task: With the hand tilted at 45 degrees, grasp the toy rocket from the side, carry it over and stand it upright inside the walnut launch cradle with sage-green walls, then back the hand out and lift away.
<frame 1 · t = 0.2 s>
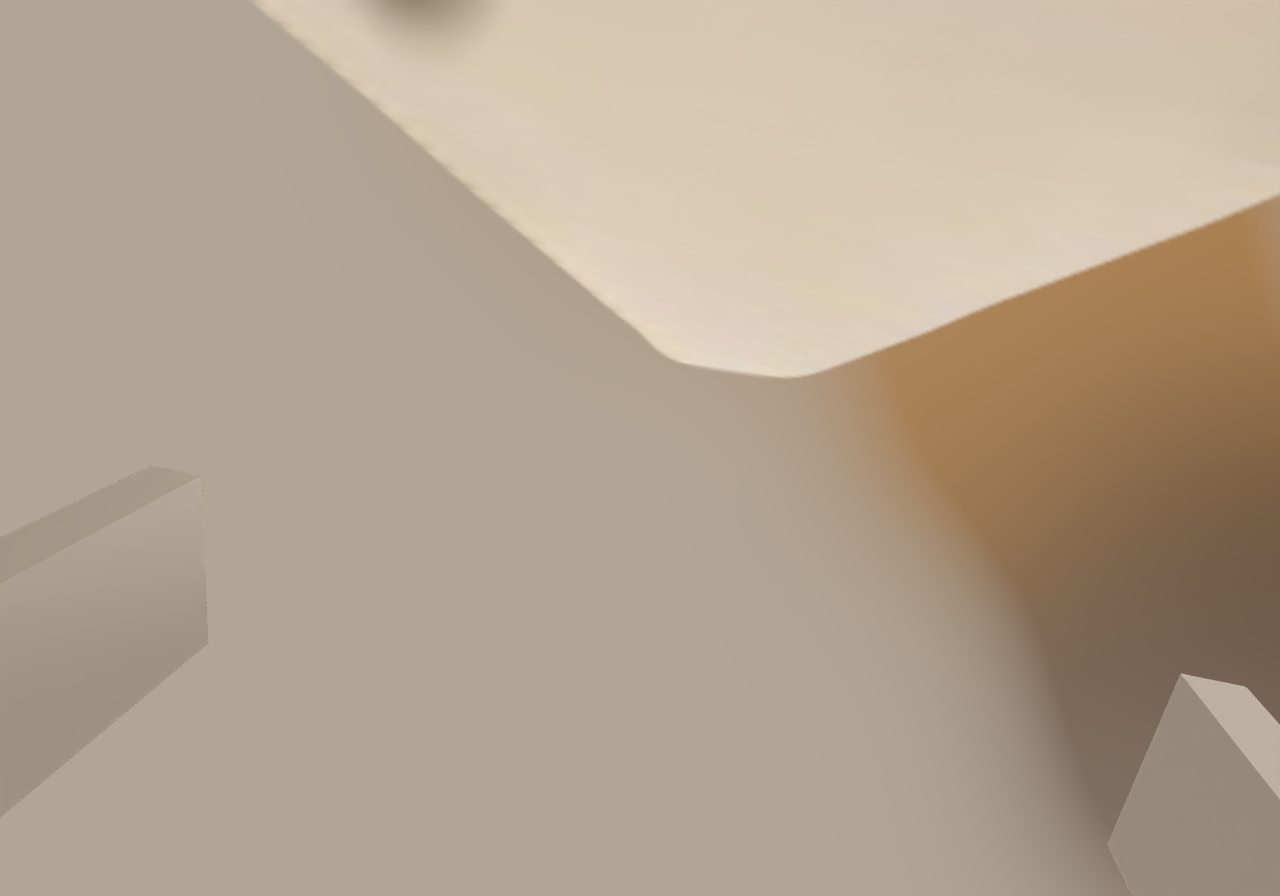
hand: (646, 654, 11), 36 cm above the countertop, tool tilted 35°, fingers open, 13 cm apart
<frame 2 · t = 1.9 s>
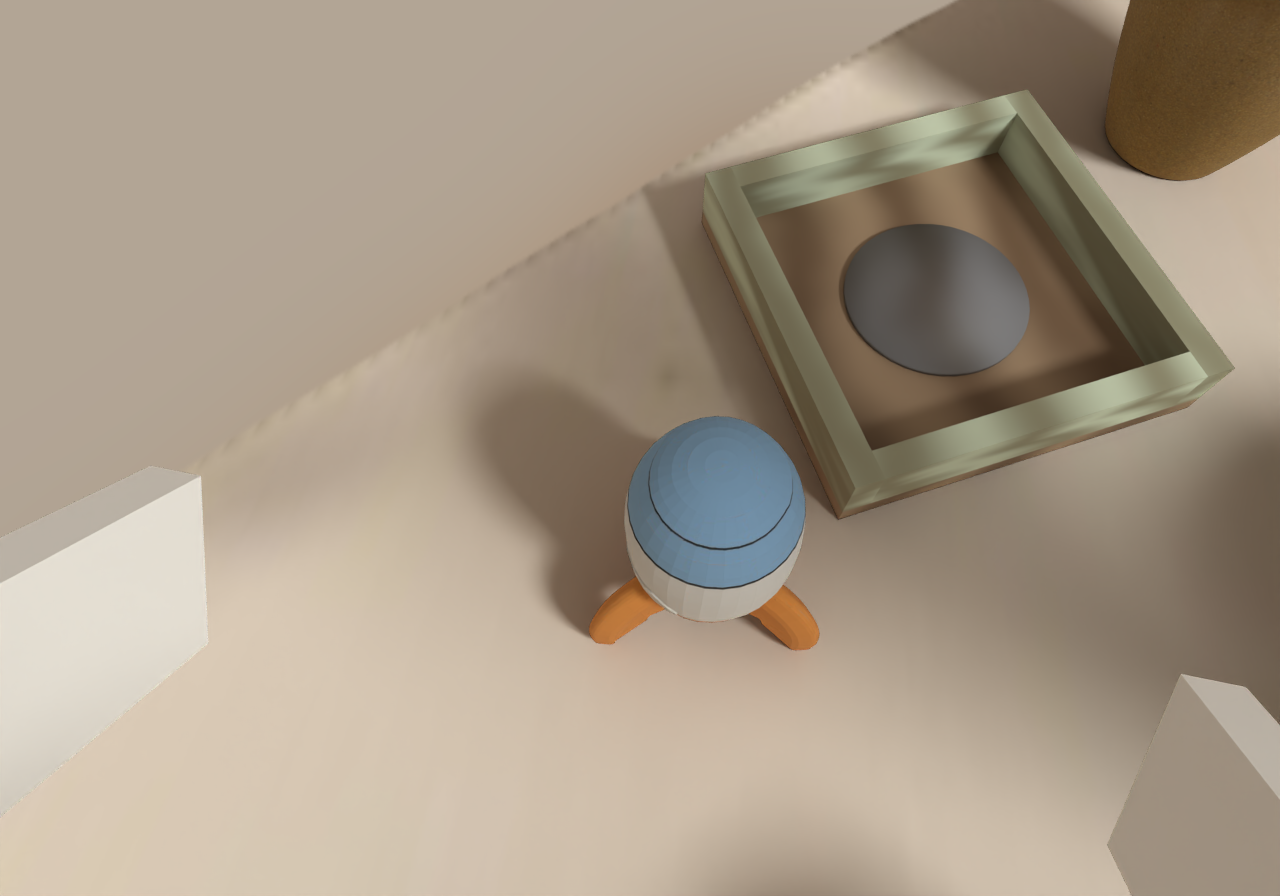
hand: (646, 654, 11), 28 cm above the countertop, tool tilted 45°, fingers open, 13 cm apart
launch cradle: (929, 308, 47), on the countertop
toy rocket: (705, 563, 41), on the countertop
plant pot: (1166, 139, 52), on the countertop
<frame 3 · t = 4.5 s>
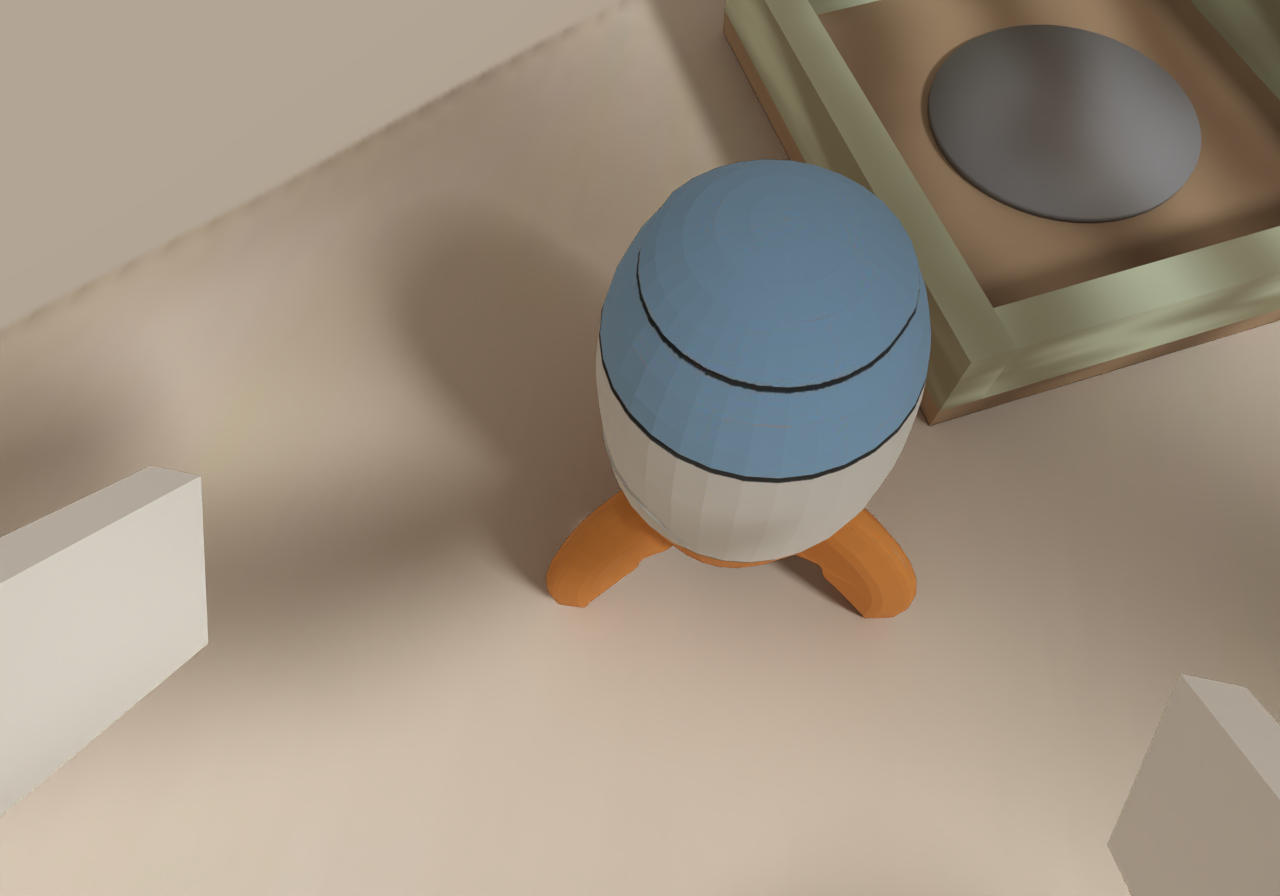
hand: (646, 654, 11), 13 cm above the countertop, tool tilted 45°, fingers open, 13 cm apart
launch cradle: (1048, 140, 33), on the countertop
toy rocket: (730, 489, 27), on the countertop
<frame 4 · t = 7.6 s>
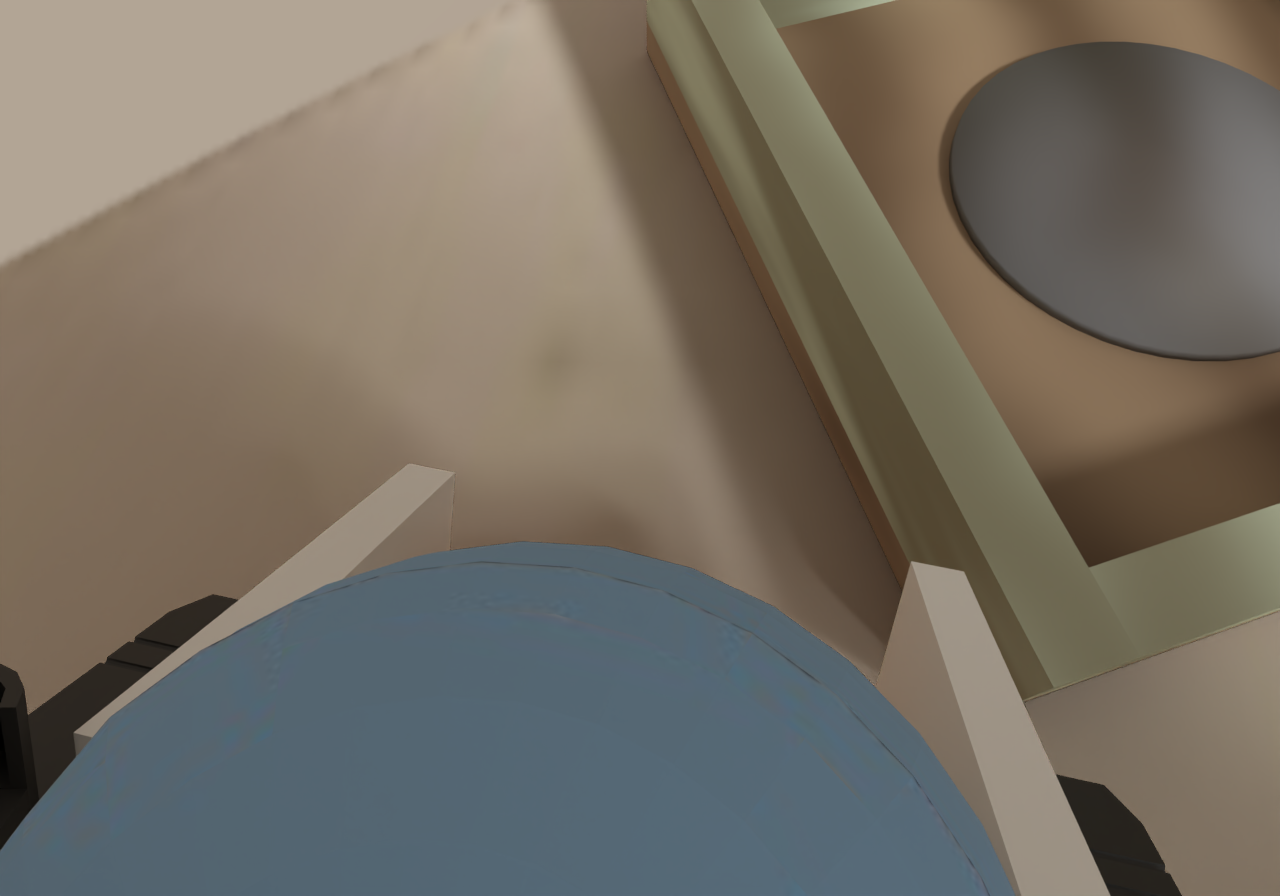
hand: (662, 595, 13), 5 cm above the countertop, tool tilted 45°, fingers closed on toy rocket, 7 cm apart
launch cradle: (1131, 217, 22), on the countertop
toy rocket: (623, 844, 16), on the countertop, touching gripper
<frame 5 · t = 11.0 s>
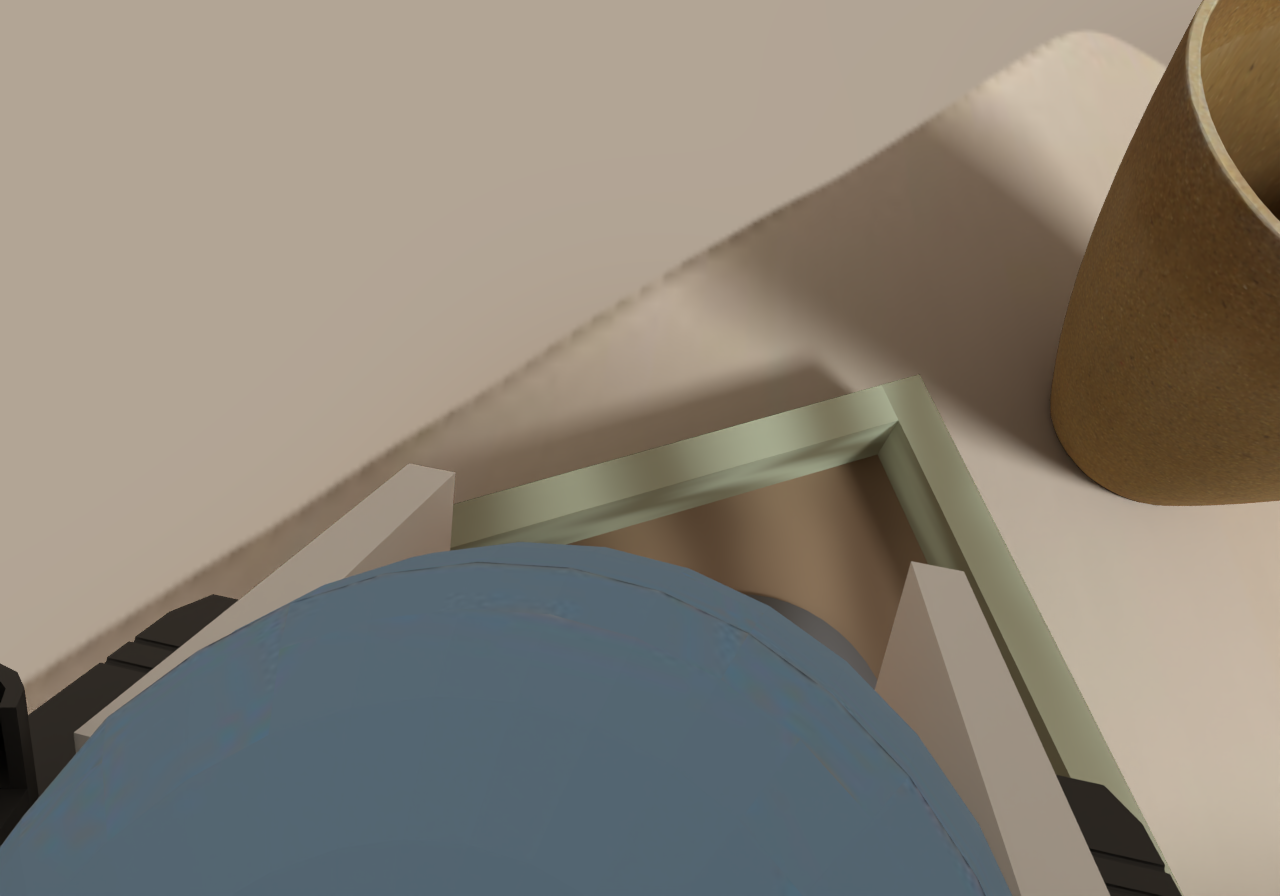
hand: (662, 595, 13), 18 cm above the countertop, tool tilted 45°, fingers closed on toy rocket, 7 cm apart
launch cradle: (742, 744, 29), on the countertop
toy rocket: (621, 844, 16), point 13 cm above the countertop, touching gripper
plant pot: (1143, 423, 34), on the countertop
when the fingers open (7 cm above the countertop, at t = 14.4 s): toy rocket drops 1 cm, resting on launch cradle.
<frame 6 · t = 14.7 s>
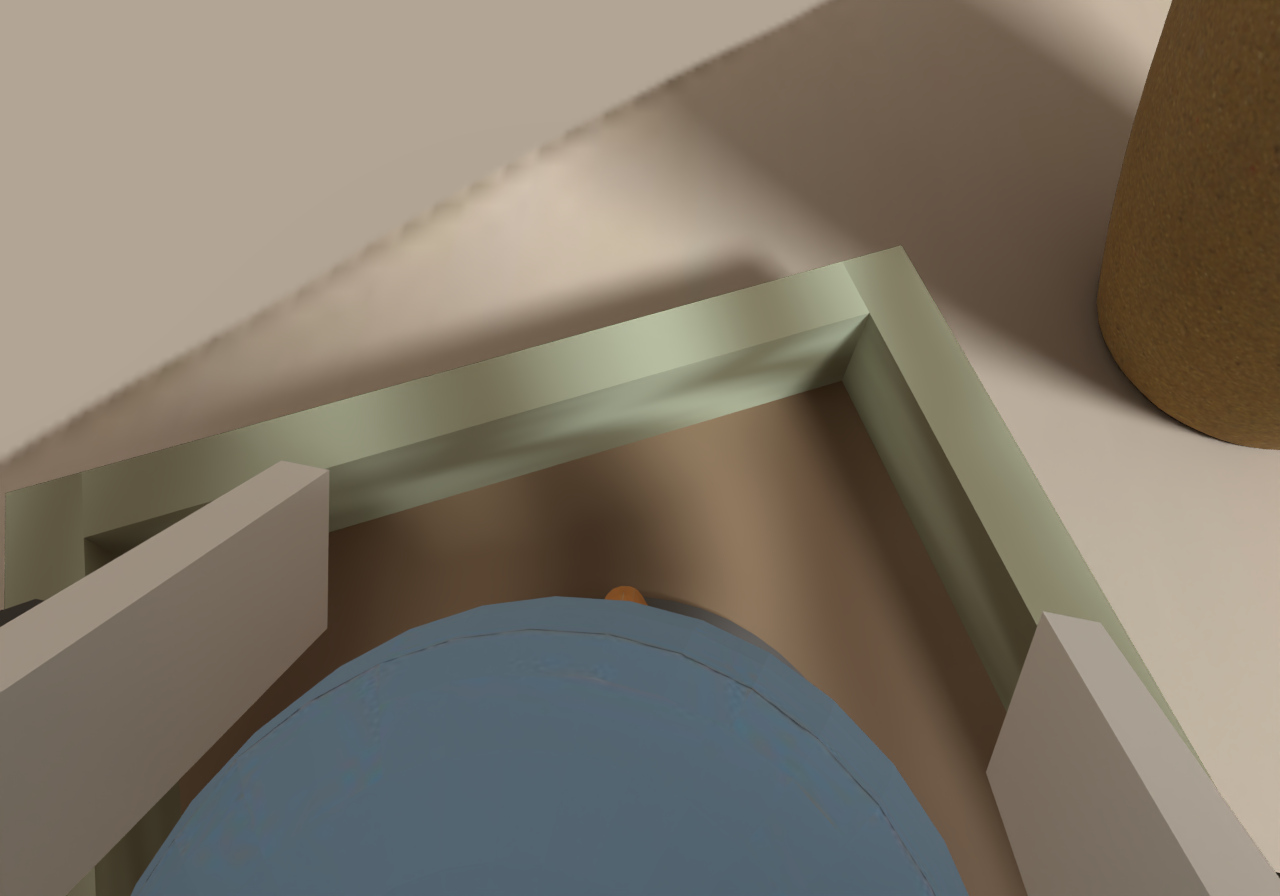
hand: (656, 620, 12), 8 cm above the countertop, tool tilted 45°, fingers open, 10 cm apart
launch cradle: (626, 843, 18), on the countertop
toy rocket: (631, 848, 17), point 1 cm above the countertop, touching launch cradle
plant pot: (1235, 334, 23), on the countertop
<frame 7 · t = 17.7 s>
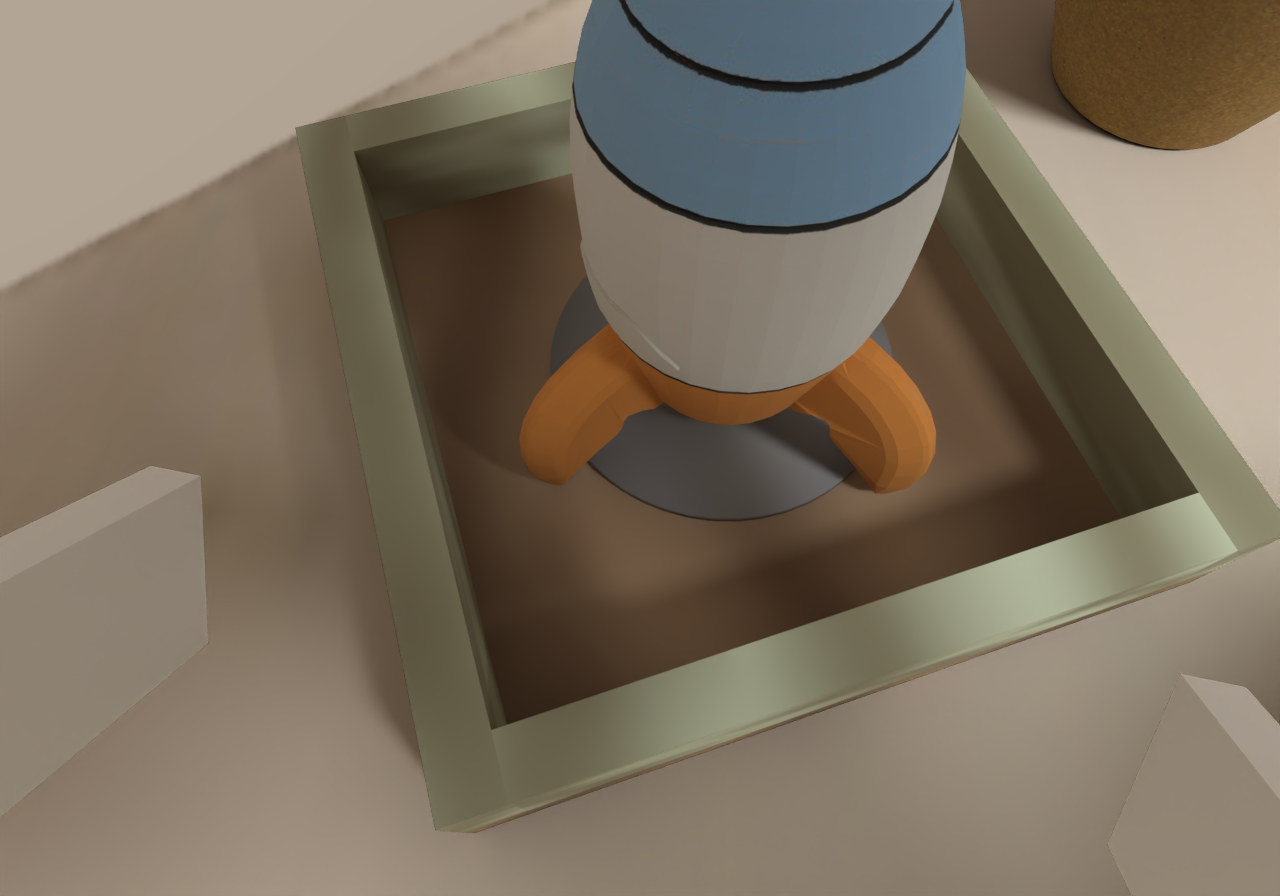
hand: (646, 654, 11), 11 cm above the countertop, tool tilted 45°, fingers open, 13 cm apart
launch cradle: (717, 379, 25), on the countertop
toy rocket: (725, 363, 24), point 1 cm above the countertop, touching launch cradle
plant pot: (1154, 82, 31), on the countertop
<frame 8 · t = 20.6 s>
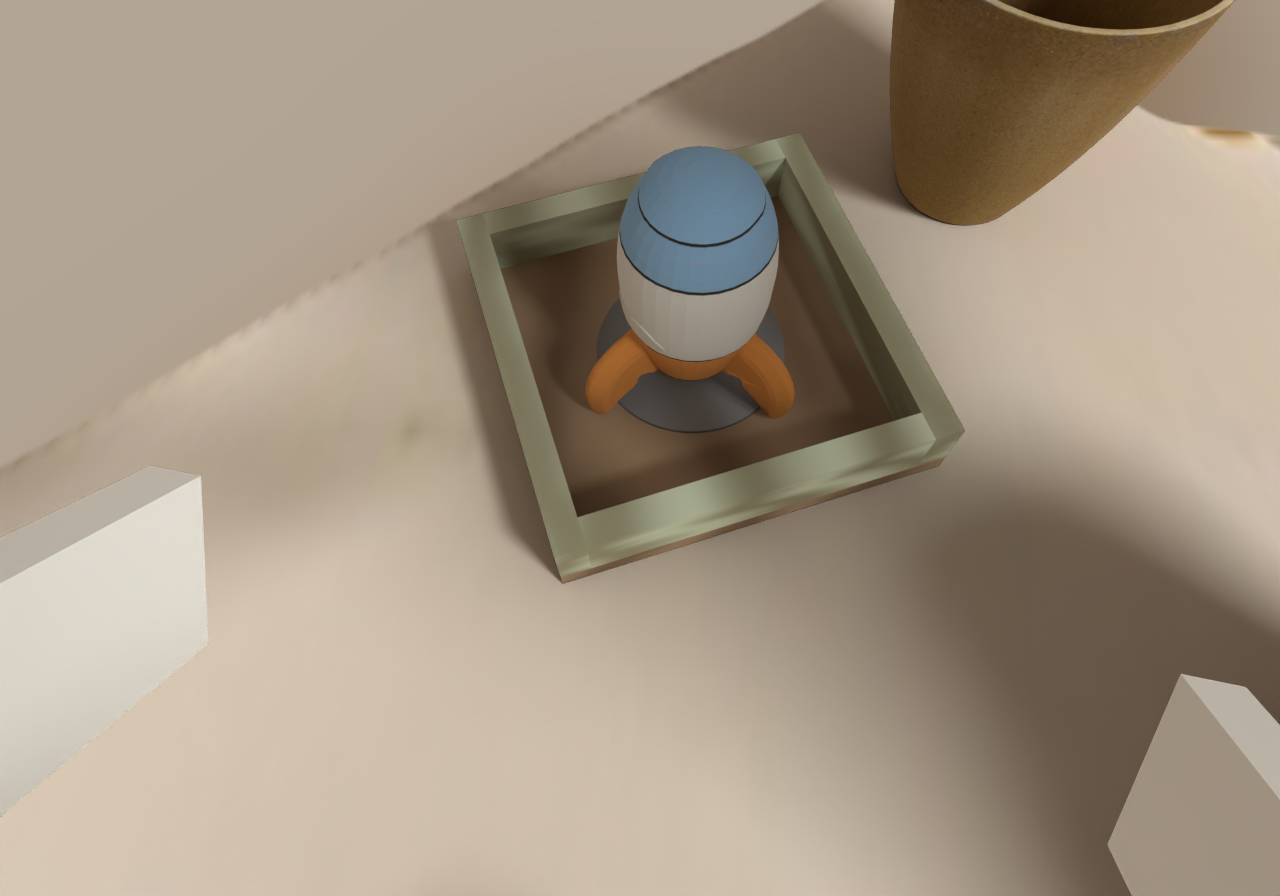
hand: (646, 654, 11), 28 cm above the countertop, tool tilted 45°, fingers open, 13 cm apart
launch cradle: (689, 359, 46), on the countertop
toy rocket: (692, 350, 45), point 1 cm above the countertop, touching launch cradle
plant pot: (958, 181, 51), on the countertop
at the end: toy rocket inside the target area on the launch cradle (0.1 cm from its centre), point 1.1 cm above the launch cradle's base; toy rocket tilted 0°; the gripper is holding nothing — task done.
